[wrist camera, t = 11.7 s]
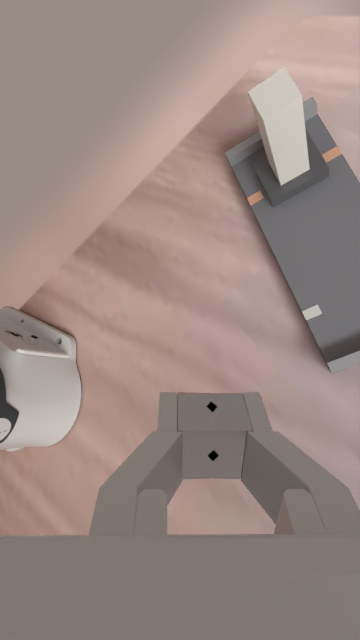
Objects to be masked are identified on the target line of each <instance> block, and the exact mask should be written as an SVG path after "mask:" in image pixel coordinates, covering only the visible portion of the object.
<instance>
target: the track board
mask: <svg viewBox="0 0 360 640" xmlns="http://www.w3.org/2000/svg"><path fill="white" fill-rule="evenodd" d="M303 111H304V120H305V130H307V132H308V133H309V135H310V137H311V138H312V140H313V142H314V144H315V145H316V147H317V149H318V150H319V152H320V154H321V155H322V157H323V159H324V161H325V162H326V164H327V166H328V167H329V177H327V178H325V179H323V180H322V181H320V182H318V183H316V184H314V185H313V186H311V187H309V188H307V189H305V190H304V191H302V192H300V193H298V194H296V195H294V196H293V197H291V198H289V199H287V200H285V201H284V202H282V203H280V204H278V205H276V206H275V207H273V206H272V204H271V202H270V200H269V198H268V196H267V194H266V192H265V190H264V188H263V186H262V184H261V182H260V180H259V178H258V176H257V174H256V172H255V170H254V168H253V165H252V163H254V162H255V161H257V160H259V159H260V158H262V157H264V156H265V155H266V151H265V148H264V145H263V141H262V138H261V135H260V131H258V132H256V133H255V134H253V135H252V136H250V137H249V138H247V139H245V140H244V141H242V142H241V143H239V144H238V145H236V146H234V147H233V148H231V149H230V150H228V151H227V152H225V154H226V156H227V158H228V161H229V163H230V165H231V167H232V169H233V171H234V173H235V175H236V177H237V179H238V181H239V183H240V185H241V187H242V189H243V191H244V193H245V196H246V198H247V200H248V202H249V204H250V206H251V208H252V210H253V212H254V214H255V216H256V218H257V220H258V222H259V224H260V226H261V228H262V231H263V233H264V235H265V237H266V239H267V241H268V243H269V245H270V247H271V249H272V251H273V253H274V255H275V257H276V259H277V261H278V263H279V266H280V268H281V270H282V272H283V274H284V276H285V278H286V280H287V282H288V284H289V286H290V288H291V290H292V292H293V294H294V296H295V298H296V301H297V303H298V305H299V307H300V309H301V311H302V313H303V315H304V317H305V319H306V321H307V323H308V325H309V327H310V329H311V331H312V333H313V336H314V338H315V340H316V342H317V344H318V346H319V348H320V350H321V352H322V354H323V356H324V358H325V360H326V362H327V364H328V366H329V369H330V371H331V373H335V372H337V371H340V370H343V369H345V368H348V367H351V366H354V365H356V364H359V363H360V183H359V181H358V180H357V178H356V176H355V175H354V173H353V171H352V170H351V168H350V166H349V165H348V163H347V162H346V160H345V158H344V157H343V155H342V153H341V151H340V149H339V148H338V146H337V145H336V144H335V142H334V140H333V139H332V137H331V135H330V134H329V132H328V130H327V129H326V127H325V126H324V124H323V122H322V121H321V119H320V117H319V116H318V114H317V103H316V102H315V100H314V98H313V97H311V98H310V99H308V100H307V101H305V102H303Z"/></svg>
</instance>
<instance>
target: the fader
mask: <svg viewBox="0 0 360 640" xmlns="http://www.w3.org/2000/svg"><path fill="white" fill-rule="evenodd" d="M248 94H249V98H250V101H251V104H252V108H253V111H254V114H255V118H256V121H257V124H258V128H259V131H260V135H261V138H262V141H263V145H264V148H265V151H266V155H265V156H264V157H262V158H260V159H259V160H257V161H255V162H254V163H252V165H253V168H254V170H255V172H256V174H257V176H258V178H259V180H260V182H261V184H262V186H263V188H264V190H265V192H266V194H267V196H268V198H269V200H270V202H271V204H272V206H273V207H275V206H276V205H278V204H280V203H282V202H284V201H285V200H287V199H289V198H291V197H293V196H294V195H296V194H298V193H300V192H302V191H304V190H305V189H307V188H309V187H311V186H313V185H314V184H316V183H318V182H320V181H322V180H323V179H325V178H327V177H329V167H328V166H327V164H326V162H325V161H324V159H323V157H322V155H321V154H320V152H319V150H318V149H317V147H316V145H315V144H314V142H313V140H312V138H311V137H310V135H309V133H308V132H307V130H305V120H304V111H303V101H302V95H301V93H300V92H299V90H298V88H297V87H296V85H295V83H294V82H293V80H292V78H291V77H290V75H289V73H288V72H287V70H286V69H285V67H284V68H282V69H281V70H279V71H278V72H276V73H275V74H273V75H272V76H270V77H269V78H268V79H266V80H265V81H263V82H262V83H260V84H259V85H257V86H256V87H254V88H253V89H251V90H250V91H249V92H248Z"/></svg>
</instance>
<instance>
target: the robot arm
mask: <svg viewBox="0 0 360 640" xmlns="http://www.w3.org/2000/svg"><path fill="white" fill-rule="evenodd" d="M61 340H62V342H61ZM80 402H81V382H80V376H79V373H78V369H77V365H76V341H75V339H74V337H72V336H71V335H69V334H67V333H64V332H62V331H60V330H58V329H56V328H54V327H52V326H50V325H48V324H46V323H44V322H42V321H40V320H38V319H36V318H34V317H32V316H29V315H27V314H25V313H23V312H21V311H19V310H17V309H15V308H13V307H3V308H2V309H1V310H0V450H2V449H6V450H7V451H17V450H20V449H22V448H24V447H47V446H50V445H53V444H55V443H57V442H58V441H60V440H61V439H62V438H63V437H64V436H65V435H66V434H67V433H68V432H69V430H70V429H71V427H72V426H73V424H74V422H75V420H76V417H77V414H78V411H79V407H80ZM203 478H220V479H241V481H242V482H243V484H244V485H245V486H246V487H247V489H248V490H249V491H250V492H251V494H252V495H253V496H254V497H255V499H256V500H257V501H258V503H259V504H260V505H261V506H262V508H263V509H264V510H265V511H266V513H267V514H268V515H269V516H270V518H271V519H272V520H273V522H274V523H275V524H276V528H275V532H274V534H240V535H167V505H168V504H169V502H170V500H171V499H172V497H173V495H174V494H175V492H176V490H177V489H178V487H179V485H180V484H181V482H182V479H203ZM0 640H360V510H359V508H358V506H357V504H356V502H355V500H354V498H353V497H352V495H351V493H350V491H349V489H348V487H346V486H345V485H344V484H343V483H341V482H340V481H339V480H338V479H336V478H335V477H334V476H333V475H331V474H330V473H329V472H328V471H326V470H325V469H324V468H323V467H321V466H320V465H319V464H318V463H316V462H315V461H314V460H313V459H312V458H310V457H309V456H308V455H307V454H305V453H304V452H303V451H302V450H300V449H299V448H298V447H297V446H295V445H294V444H293V443H292V442H290V441H289V440H288V439H287V438H285V437H284V436H283V435H282V434H280V433H279V432H275V431H273V430H272V427H271V424H270V422H269V419H268V416H267V413H266V410H265V407H264V404H263V401H262V398H261V396H260V394H259V393H258V392H248V393H185V392H177V393H176V392H161V393H160V399H159V414H158V429H157V431H154V432H152V433H151V434H150V435H149V436H148V437H147V438H146V439H145V440H144V441H143V442H142V443H141V444H140V445H139V446H138V447H137V448H136V450H135V451H134V452H133V453H132V454H131V455H130V456H129V457H128V458H127V459H126V460H125V461H124V462H123V463H122V464H121V466H120V467H119V468H118V469H117V470H116V471H115V472H114V473H113V474H112V475H111V476H110V477H109V478H108V479H107V480H106V482H105V483H104V484H103V485H102V486H101V487H100V488H99V492H98V497H97V501H96V505H95V510H94V514H93V518H92V523H91V527H90V532H89V535H0Z"/></svg>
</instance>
